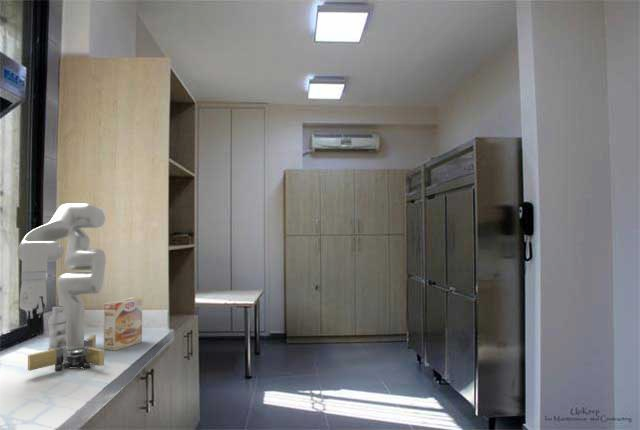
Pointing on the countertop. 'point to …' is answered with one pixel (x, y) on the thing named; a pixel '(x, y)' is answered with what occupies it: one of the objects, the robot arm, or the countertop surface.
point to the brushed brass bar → (46, 359)
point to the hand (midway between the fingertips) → (33, 329)
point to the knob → (90, 341)
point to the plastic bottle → (57, 329)
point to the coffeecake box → (122, 323)
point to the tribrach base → (67, 365)
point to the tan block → (92, 356)
